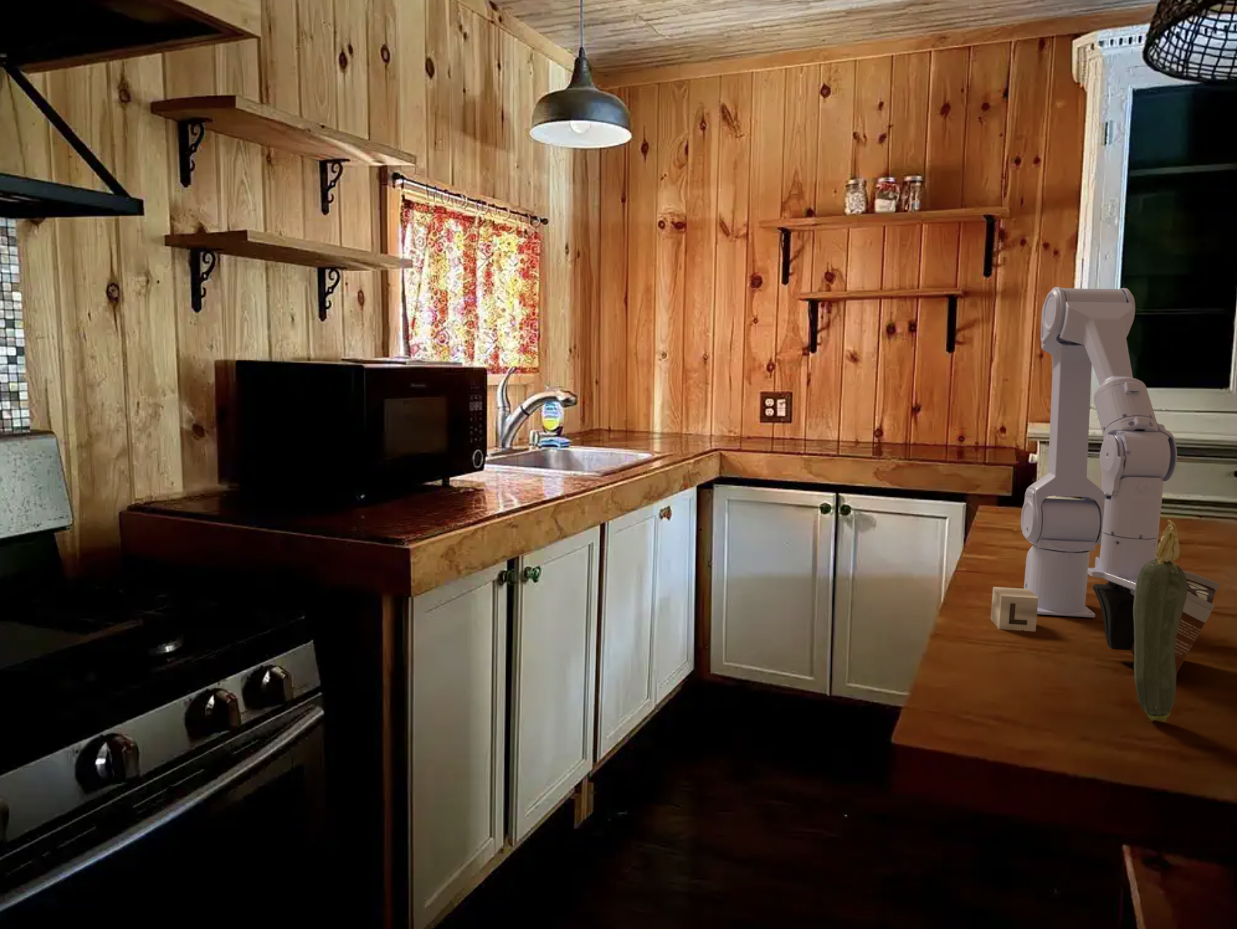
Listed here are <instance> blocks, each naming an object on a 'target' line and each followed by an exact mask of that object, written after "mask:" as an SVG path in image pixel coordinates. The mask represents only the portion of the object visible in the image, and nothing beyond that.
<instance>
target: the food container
mask: <svg viewBox="0 0 1237 929" xmlns="http://www.w3.org/2000/svg"><path fill="white" fill-rule="evenodd" d="M1183 572H1184V574H1185V576H1186V579H1187V597H1186V601H1185V605H1184V608H1183V612H1182V615H1181V619H1180V623H1179V627H1178V630H1177V635H1176V644H1175V666H1176V675H1177V674H1178V672H1179V670H1180V668H1181V667H1182V665H1183V664H1184V661H1185V660H1186V658H1187V656H1188V654H1189V652H1190V651H1191V648H1192V647H1193V646H1194V643H1195V642H1196V640H1197V638H1198V636H1199V635H1200V633H1201V631H1202V629H1203V627H1204V626H1205V624H1206V623H1207V621H1208V619H1209V617H1210V615H1211V613H1212V612H1213V610H1214V608H1215V607H1216V605H1215V604H1213V602H1214V599H1215V594H1216V593H1217V592H1218V589H1219V587H1220V585H1221V583H1219V582H1217V581H1215V580H1212V579H1209V578H1206V577H1204V576H1200V575H1199V574H1195V573H1192V572H1190V571H1189V572H1188V571H1185V570H1183ZM1130 653H1131V654H1132V655H1133V656H1134V655H1135V654H1134V643H1133V645H1132V647H1131V650H1130Z"/></svg>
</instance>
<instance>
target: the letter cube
mask: <svg viewBox="0 0 1237 929" xmlns="http://www.w3.org/2000/svg"><path fill="white" fill-rule="evenodd" d="M991 598H992V599H991V609H990V620H991V621H992V622H993V624H994V626H996V628H997V629H998V630H1006V631H1008V630H1009V631H1011V630H1012V631H1021V630H1022V631H1023V630H1024V631H1025V632H1036V631H1037V619H1038V614H1037V609H1038V597H1037V596H1036V595H1035V594H1033V593H1032V592H1031V591H1030V590H1029V589H1024V588H1018V587H1002V586H1001V587H1000V586H992V596H991ZM1024 631H1023V632H1024Z"/></svg>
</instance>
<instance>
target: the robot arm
mask: <svg viewBox="0 0 1237 929" xmlns="http://www.w3.org/2000/svg"><path fill="white" fill-rule="evenodd" d="M1043 302H1044V303H1043V306H1042V309H1041V322H1040V324H1041V325H1040V342H1041V350H1043V351H1044V352H1046V353H1048V354H1050V355H1051V362H1052V364H1051V365H1052V368H1051V369H1052V373H1051V374H1052V376H1051V394H1050V395H1051V400H1050V419H1049V422H1050V423H1049V444H1048V465H1047V466H1048V467H1047V473H1046V474H1045V475H1044V476H1043V477H1041V478H1040V479H1038V480H1036V481H1035V482H1033V483H1032V484H1031V485H1029V486H1028V487H1027V488H1026V489H1025V490H1026V491H1025V493H1024V501H1023V505H1022V509H1021V514H1020V528H1021V532H1022V535H1023V537H1024V538H1025V539H1026V541H1027V542H1028V543H1030V544H1032V546H1030V548H1029V550H1028V551H1027V554H1026V559H1025V569H1024V571H1025V572H1024V583H1023V584H1024V585H1023V589H1029V590H1030V591H1031V592H1032V593H1033V594H1035V595H1036V596H1037V597H1038V609H1037V615H1047V616H1048V615H1050V616H1065V617H1077V618H1080V617H1081V618H1095V617H1096V613H1094V612H1093V611H1092V610H1091V609H1090V608H1089V607H1088V606H1087V605H1086V598H1087V597H1086V596H1087V586H1088V575H1089V576H1091V577H1093V578H1100V579H1102V580H1105V581H1108V582H1106V583H1105V584H1103V583H1102V584H1100V583H1099V584H1098V583H1096V584H1093V586H1092V589H1093V591H1094V593H1095V595H1096V598H1097V600H1098V603H1099V606H1100V610H1101V614H1102V619H1103V626H1104V633H1105V639H1106V645H1107V647H1109V648H1110V649H1111V650H1114V651H1116V650H1117V651H1120V650H1121V651H1131V647H1132V645H1133V643H1134V619H1133V605H1134V595H1135V587H1136V582H1137V578H1138V575H1139V573H1140V570H1141V569H1142V567H1143V566H1144V565H1145V564H1147V563H1148V562H1149V561H1151V560H1154V559H1156V558H1157V556H1156V552H1157V548H1158V544H1159V542H1158V541H1159V532H1160V522H1161V513H1162V504H1163V491H1164V482H1167V481H1169V480H1170V479H1171V478H1172V476H1173V475H1174V472H1175V470H1176V467H1177V461H1178V450H1177V444H1176V440H1175V436H1174V434H1173V433H1172V432H1171V431H1169V430H1167V429H1166V426H1165V425H1164V424H1162V423H1158V421H1157V417H1156V414H1155V412H1154V408H1153V404H1152V400H1151V398H1150V394H1149V392H1148V389H1147V386H1146V384H1145V383H1144V382H1143V381H1142V380H1139V379H1138V378H1134V377H1133V376H1134V375H1133V369H1132V365H1131V358H1130V354H1129V345H1128V340H1127V337H1128V335H1129V333H1130V330H1131V328H1132V325H1133V322H1134V320H1135V316H1136V315H1135V314H1136V302H1135V297H1134V295H1133V294H1132V292H1131V291H1130V290H1129V289H1128V287H1127V288H1126V287H1122V288H1121V287H1120V288H1070V287H1069V288H1067V287H1065V288H1064V287H1061V286H1055V287H1053V288H1052V289H1051V290H1050V291H1049V292H1048V293H1047V295H1046V297H1045V300H1044V301H1043ZM1092 369H1093V371H1094V373H1095V376H1096V378H1097V380H1098V383H1099V387H1098V388H1097V389H1096V391H1095V392H1094V394H1093V401H1094V402H1093V403H1094V406H1095V410H1096V414H1097V417H1098V421H1099V426H1100V428H1101V433H1102V436H1103V441H1102V444H1101V447H1100V451H1099V466H1100V471H1101V488H1100V487H1099V485H1097V484H1096V483H1094V482H1093V481H1091V480H1090V479H1089V477H1088V475H1087V474H1088V456H1089V455H1088V454H1089V437H1090V435H1089V433H1090V411H1091V410H1090V409H1091V392H1092V391H1091V389H1092V373H1093V371H1092ZM1053 496H1054V497H1075V498H1076V497H1079V498H1082V499H1063V498H1049V497H1053ZM1099 544H1100V550H1099V551H1100V552H1099V556H1095V562H1094V567H1089V566H1090V557H1091V556H1090V554H1091V551H1096V546H1098V545H1099Z"/></svg>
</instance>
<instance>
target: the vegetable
mask: <svg viewBox="0 0 1237 929" xmlns="http://www.w3.org/2000/svg"><path fill="white" fill-rule="evenodd" d="M1179 542H1180V541H1179V533H1178V528H1177V525H1176V523H1175V522H1174V521H1173V520H1171V519H1167V526H1166V528H1165V529H1163V532H1162V535H1161V538H1160V540H1159V542H1158V544H1157V552H1156V559H1154V560H1151V561H1149V562H1148V563H1147V564H1145V565H1144V566H1143V567H1142V569H1141V570H1140V573H1139V575H1138V578H1137V582H1136V587H1135V595H1134V605H1133V619H1134V654H1135V655H1133V657H1134V661H1133V673H1134V674H1133V676H1134V684H1135V689H1136V696H1137V701H1138V704H1139V706H1140V708H1141V709H1142V710H1143V711H1144V712H1145V714H1146V715H1147V717H1148V718H1149V720H1150V721H1151V722H1153V721H1160V722H1161V721H1162V722H1163V723H1164V722H1167V720H1168V718H1169V717H1170V716H1171V710H1172V709H1173V706H1174V705H1175V699H1176V688H1177V674H1176V666H1175V644H1176V635H1177V630H1178V627H1179V623H1180V619H1181V615H1182V612H1183V608H1184V605H1185V601H1186V597H1187V579H1186V576H1185V574H1184V572H1183V571H1184V570H1183V569H1182V568H1181V566H1180V565H1178V563H1176V562H1175V561H1176V560H1177V559H1178V558H1179V556H1180V543H1179Z"/></svg>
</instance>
